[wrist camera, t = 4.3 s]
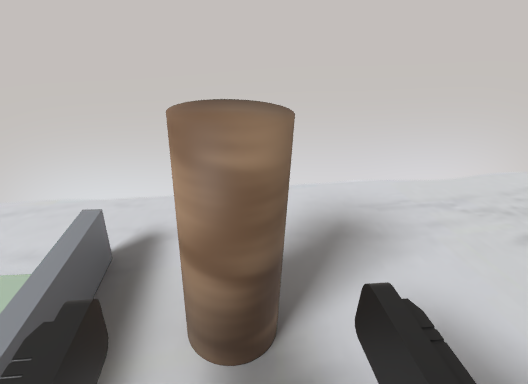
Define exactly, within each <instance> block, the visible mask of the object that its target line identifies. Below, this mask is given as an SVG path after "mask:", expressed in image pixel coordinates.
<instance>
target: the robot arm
mask: <svg viewBox="0 0 528 384" xmlns="http://www.w3.org/2000/svg"><path fill="white" fill-rule="evenodd" d="M355 328H356V333H357V336H358V339H359V341H360V343H361V346H362V348H363V350H364V352H365V354H366V357H367V359H368V361H369V363H370V365H371V368H372V370H373V372H374V374H375V376H376V379H377V381H378V383H379V384H476V383H475V381H474V380H473V378H472V377H471V376H470V374H469V373H468V372H467V370H466V369H465V368H464V366H463V365H462V363H461V362H460V361H459V359H458V358H457V357H456V355H455V354H454V353H453V351H452V350H451V348H450V347H449V346H448V344H447V343H445V342H444V339H443V338H442V336H441V335H440V333H439V332H438V331H437V329H436V330H435V328H434V325H433V324H432V322H431V321H430V320H429V318H428V317H427V316H426V314H425V313H424V312H423V311H422V310H421V309H420V308H419V307H417V306H416V305H415V304H414V303H412V302H411V301H410V300H409V299H401V297H400V296H399V294H398V293H397V292H396V290H395V289H394V287H393V286H392V285H391V284H390V283H373V284H365V285H364V286H363V288H362V291H361V295H360V300H359V304H358V308H357V312H356V316H355ZM107 350H108V333H107V329H106V326H105V322H104V318H103V314H102V310H101V307H100V303H99V301H98V300H97V299H87V300H70V301H66V302H65V303H64V304H63V306H62V307H61V309H60V311H59V313H58V314H57V316H56V318H55V320H54V321H51V322H43V323H42V324H41V325H40V326H39V327H37V328H36V329H35V330H34V331H33V332H32V333H31V334H30V335H29V336H27V337H26V338H25V339H24V341H23V342H22V344H21V345H20V347H19V349H18V350H17V352H16V353H15V355H14V356H13V358H12V362H11V363H9V364H8V366H7V367H6V369H5V370H4V372H3V373H2V375H1V379H0V384H97V381H98V378H99V376H100V373H101V370H102V367H103V364H104V361H105V358H106V355H107Z"/></svg>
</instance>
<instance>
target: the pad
mask: <svg viewBox="0 0 528 384" xmlns="http://www.w3.org/2000/svg"><path fill="white" fill-rule="evenodd" d="M30 275H31V274H26V275H4V276H0V313H1V312H2V311H3V310H4V308H5V307H6V306H7V304H8V303H9V302H10V301H11V299H12V298H13V297H14V296H15V294H16V293H17V292H18V291H19V289H20V288H21V287H22V286H23V284H24V283H25V282H26V281H27V279H28V278H29V277H30Z"/></svg>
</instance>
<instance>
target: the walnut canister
mask: <svg viewBox="0 0 528 384" xmlns="http://www.w3.org/2000/svg"><path fill="white" fill-rule="evenodd" d="M166 117H167V127H168V137H169V147H170V157H171V167H172V178H173V188H174V199H175V209H176V219H177V229H178V239H179V250H180V260H181V270H182V280H183V290H184V301H185V311H186V321H187V331H188V338H189V341H190V344H191V346H192V347H193V349H194V350H195V352H196V353H197V354H198V355H200V356H201V357H202V358H204V359H205V360H207V361H209V362H212V363H214V364H218V365H225V366H235V365H241V364H245V363H248V362H251V361H253V360H255V359H257V358H258V357H260V356H261V355H262V354H264V353H265V352H266V351H267V350H268V348H269V347H270V346H271V344H272V342H273V341H274V338H275V335H276V330H277V319H278V307H279V295H280V283H281V272H282V260H283V248H284V236H285V225H286V213H287V201H288V190H289V178H290V166H291V154H292V142H293V130H294V119H295V113H294V112H293V111H292V110H290V109H288V108H286V107H283V106H280V105H276V104H272V103H266V102H260V101H250V100H235V99H234V100H233V99H213V100H200V101H191V102H185V103H181V104H177V105H174V106H172V107H170V108H168V109H167V111H166Z"/></svg>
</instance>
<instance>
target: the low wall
mask: <svg viewBox="0 0 528 384" xmlns="http://www.w3.org/2000/svg"><path fill="white" fill-rule="evenodd" d="M111 260H112V253H111V249H110V244H109V239H108V235H107V230H106V226H105V221H104V217H103V212H102V209H95V210H82V211H81V212H80V214H79V215H78V216H77V217H76V219H75V220H74V221H73V222H72V224H71V225H70V226H69V228H68V229H67V230H66V231H65V233H64V234H63V235H62V236H61V238H60V239H59V240H58V241H57V243H56V244H55V245H54V246H53V248H52V249H51V250H50V252H49V253H48V254H47V255H46V257H45V258H44V259H43V260H42V262H41V263H40V264H39V265H38V267H37V268H36V269H35V270H34V272H33V273H32V274H31V275H30V277H29V278H28V279H27V281H26V282H25V283H24V284H23V286H22V287H21V288H20V289H19V291H18V292H17V293H16V294H15V296H14V297H13V298H12V299H11V301H10V302H9V303H8V304H7V306H6V307H5V308H4V310H3V311H2V312H1V313H0V379H1V375H2V373H3V372H4V370H5V369H6V367H7V366H8V364H9V363H11V362H12V358H13V356H14V355H15V353H16V352H17V350H18V349H19V347H20V345H21V344H22V342H23V341H24V339H25V338H26V337H27V336H29V335H30V334H31V333H32V332H33V331H34V330H35V329H36V328H37V327H39V326H40V325H41V324H42V323H43V322H51V321H54V320H55V318H56V316H57V314H58V313H59V311H60V309H61V307H62V306H63V304H64V303H65V302H66V301H70V300H87V299H93V297H94V295H95V293H96V290H97V288H98V286H99V284H100V282H101V280H102V278H103V276H104V274H105V272H106V270H107V268H108V266H109V264H110V262H111Z"/></svg>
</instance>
